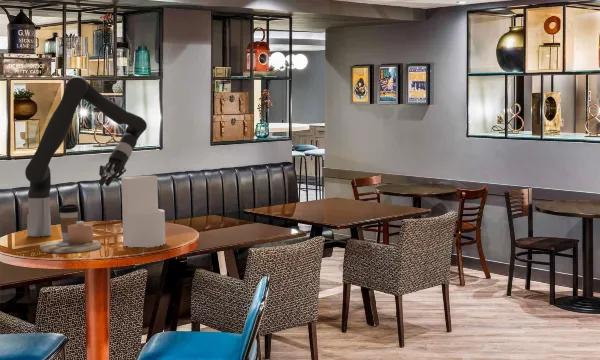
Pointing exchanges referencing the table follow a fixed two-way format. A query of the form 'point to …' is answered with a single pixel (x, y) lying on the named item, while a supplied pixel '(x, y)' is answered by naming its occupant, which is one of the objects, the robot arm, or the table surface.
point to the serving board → (69, 247)
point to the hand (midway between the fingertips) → (103, 184)
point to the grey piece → (142, 212)
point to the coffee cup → (67, 218)
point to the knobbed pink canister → (80, 233)
